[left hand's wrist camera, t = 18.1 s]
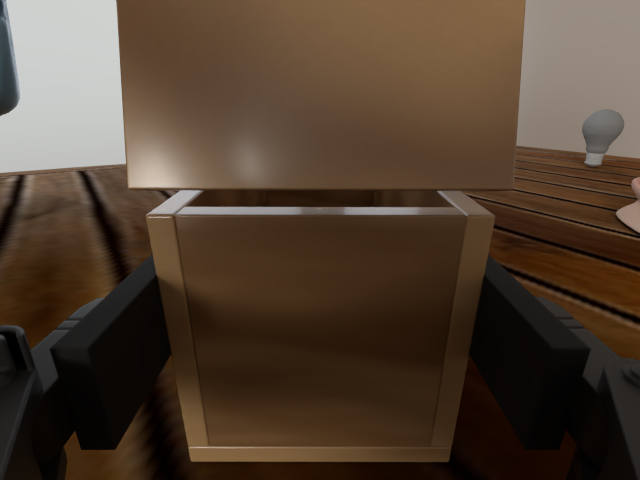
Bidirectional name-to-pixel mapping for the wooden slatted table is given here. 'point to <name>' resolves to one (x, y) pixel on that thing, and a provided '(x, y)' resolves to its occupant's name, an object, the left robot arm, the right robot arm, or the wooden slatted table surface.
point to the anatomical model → (632, 209)
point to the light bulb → (601, 134)
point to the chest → (320, 320)
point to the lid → (320, 94)
